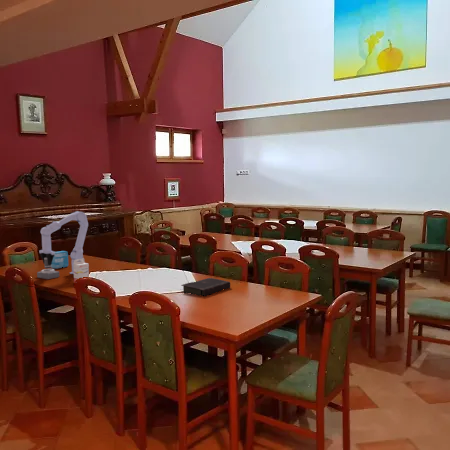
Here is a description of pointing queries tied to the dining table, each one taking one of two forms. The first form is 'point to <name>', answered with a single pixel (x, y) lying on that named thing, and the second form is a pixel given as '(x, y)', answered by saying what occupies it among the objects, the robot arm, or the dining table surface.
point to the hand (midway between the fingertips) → (47, 264)
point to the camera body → (48, 274)
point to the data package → (60, 259)
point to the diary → (205, 286)
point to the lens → (46, 263)
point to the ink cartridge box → (80, 269)
